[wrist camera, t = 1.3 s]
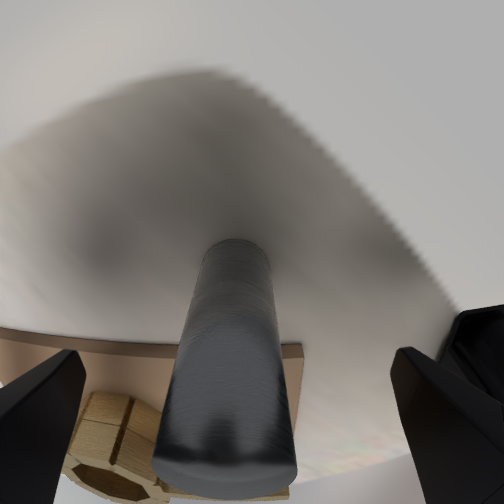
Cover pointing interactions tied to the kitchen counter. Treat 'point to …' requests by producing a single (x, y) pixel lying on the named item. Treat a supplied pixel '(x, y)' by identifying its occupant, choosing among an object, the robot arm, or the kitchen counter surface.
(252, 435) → the hinge pin
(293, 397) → the walnut board
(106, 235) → the kitchen counter surface
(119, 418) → the brass hinge
